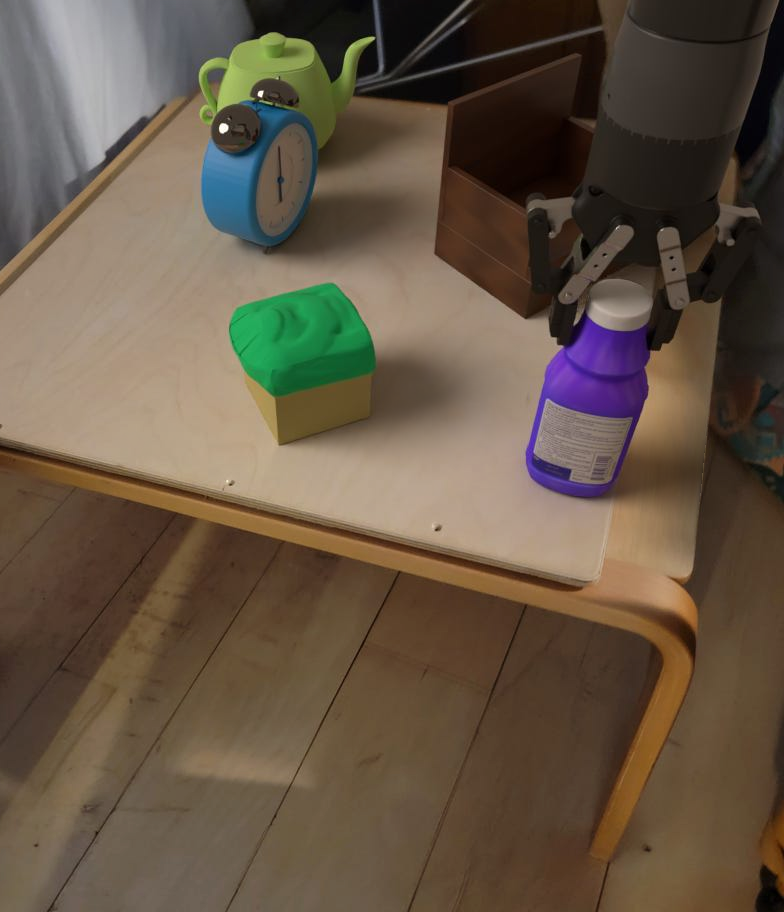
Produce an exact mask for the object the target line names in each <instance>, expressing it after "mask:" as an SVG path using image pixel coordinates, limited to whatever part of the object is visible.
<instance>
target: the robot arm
mask: <svg viewBox="0 0 784 912" xmlns="http://www.w3.org/2000/svg"><path fill="white" fill-rule="evenodd" d="M779 2H780V0H627V3H626V7H625V11H624V15H623V18H622V21H621V24H620V27H619V30H618V32H617V35H616V37H615V41H614V43H613V46H612V51H611V54H610V59H609V62H608V66H607V69H606V71H605V72H604V75H603V80H602V84H601V87H602V89H601V90H602V93H601V98H600V104H599V107H598V111H597V118H596V122H595V126H594V129H595V131H594V135H593V140H592V144H591V149H590V154H589V158H588V163H587V167H586V172H585V176H584V178H583V181H582V182H581V184H580V185H579V186H578V188H577V189H576V190H575V191H574V192H573V194H572V196H571V197H566V198H559V199H551V200H546V198H545V196H544V195H543V194H541V193H532V194H531V195H529V196H528V197H527V199H526V212H527V227H528V243H529V259H530V274H531V287H532V291H533V292H534V293H535V294H539V295H542V294H546V293H548V294H551V295H552V296H553V298H552V303H551V306H549V313H548V316H547V320H548V331H549V334H550V338H556V345H557V346H562V347H563V346H568V345H569V342H570V338H571V334H572V330H573V326H574V325H575V321H576V317H577V313H578V308H579V299H578V298H579V297H580V296H581V295H582V293H583V292H584V291H585V290H586V288H587V287H589V286H588V284H589V283H590V282H591V281H593V282H594V281H596V280H597V279H598V277H599V276H600V275H601V274H602V272H603V271H604V270H605V268H606V267H607V266H608V265H624V264H629V265H631V264H636V265H639V266H642V267H649V268H650V267H651V268H652V267H653V268H659V265H660V267H661V273H662V278H663V283H664V284H663V288H657V291H656V294H655V297H654V299H653V307H652V310H651V314H650V319H649V321H648V325H647V335H646V339H647V343H648V350H649V351H650V352H660V351H661V350H662V347H663V344H666V345H667V344H670V343H671V342H672V340H673V339H674V337H675V335H676V332H677V329H678V326H679V323H680V320H681V317H682V314H683V313H684V312H683V311H684V309H686V308H687V307H688V306H689V304H691V303H694V302H698V301H702V302H703V303H706V304H714V303H716V302H719V301H720V300H721V299H722V297H723V296H724V294H725V292H726V291H727V289H728V288H729V287H730V285H731V284H732V282H733V280H734V279H735V278H736V275H738V273H739V271H740V270H741V268H742V266H743V265H744V264H745V261H746V260H747V259H748V257H749V256H750V254H751V253H752V251H753V250H754V248H755V247H756V245H757V244H758V241H759V240H760V238H761V237H762V236H763V234H764V231H765V228H764V226H763V224H762V220H761V216H760V215H759V212H758V210H757V207H756V206H755V203H753V202H752V201H750V200H744V201H740V202H739V203H737V204H736V205H731V204H727V203H722V202H719V192H720V190H721V188H722V185H723V182H724V179H725V177H726V173H727V170H728V167H729V165H730V161H731V159H732V157H733V154H734V150H735V147H736V144H737V141H738V138H739V135H740V133H741V129H742V127H743V123H744V121H745V118H746V115H747V112H748V109H749V106H750V103H751V101H752V98H753V95H754V91H755V89H756V86H757V83H758V80H759V77H760V74H761V69H762V65H763V61H764V57H765V51H766V45H767V40H768V37H769V36H768V35H769V32H770V29H771V24H772V22H773V20H774V17H775V14H776V12H777V11H776V10H777V8H778V5H779ZM570 218H573V220H574V221H575V223H576V225H577V226H578V228H579V230H580V231H581V234H580V236H579V237H578V238H577V240H576V241H575V243H574V245H573V248H572V251H571V253H570V255H569V256H568V257H567V259H566V260H565V261H564V263H563V264H562V265H561V267H560V268H559V267H556V266H554V265H551V264H550V251H549V238H551V239H552V238H555V237H556V235H558V234H559V233H560V231H561V229H562V225H563V223H564V222H565V221H566V220H568V219H570ZM714 226H715V228H714V232H715V235H716V238H715V239H714V241H713V243H712V244H711V246H710V248H709V249H708V251H707V252H706V254H705V256H704V258H702V261H701V262H700V264H699V265H698V267H697V268H696V271H694V272H688V273H686V269H685V261H684V256H683V250H685V249H686V248H687V247H688V246H690V245H691V244H692V243H693V242H695V241H696V240H697V239H699V238H700V237H701V236H703V235H704V234H705V233H706V232H707V231H708V230H710V229H712V227H714ZM630 263H631V264H630Z"/></svg>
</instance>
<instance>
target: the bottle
mask: <svg viewBox="0 0 784 912" xmlns="http://www.w3.org/2000/svg"><path fill="white" fill-rule="evenodd" d="M653 303H654V298H653V296H652V294H651V293H650V292H649V290H647V288H645V287H644V286H642V285H641V284H639V283H637V282H634V281H631V280H627V279H623V278H607V279H602V280H599V281H597V282H595V284H593V285H592V287H591V288H590V290H589V292H588V296H587V299H586V301H585V305H584V309H583V311H582V313H581V316H580V318H579V319H578V321H577V323H574V325H573V330H572V334H571V338H570V342H569V345H568V346H562V348H561V349H560V350H559V351H557V352H556V354H555V355H554V356H553V357H552V358H551V360H550V361H549V363H548V364H547V365H546V366H545V370H544V375H543V376H544V377H543V378H544V379H543V381H542V382H543V383H542V387H541V390H540V395H539V398H538V404H537V407H536V412H535V415H534V419H533V424H532V427H531V431H530V436H529V439H528V443H527V445H526V449H525V465H526V470H527V473H528V475H529V477H530V478H531V479H532V480H533V481H534V482H535V483H537V484H538V485H539V486H542V487H544V488H546V489H548V490H550V491H554V492H557V493H560V494H565V495H569V496H574V497H582V498H592V497H600V496H601V495H603V494H604V493H606V492H607V491H609V490H610V489H611V487H612V486H613V485H614V484H615V483H616V481H617V479H618V478H619V475H620V473H621V470H622V467H623V464H624V461H625V458H626V456H627V453H628V451H629V448H630V445H631V442H632V440H633V437H634V434H635V431H636V428H637V427H638V424H639V421H640V418H641V415H642V413H643V411H644V406H645V403H646V400H647V399H648V398H649V390H650V386H649V383H648V382H649V381H648V380H649V379H648V374H647V372H646V371H647V370H646V368H645V367H647V365H648V363H649V361H650V359H651V351H649V350H648V343H647V339H646V335H647V325H648V321H649V319H650V314H651V310H652V307H653Z"/></svg>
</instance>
